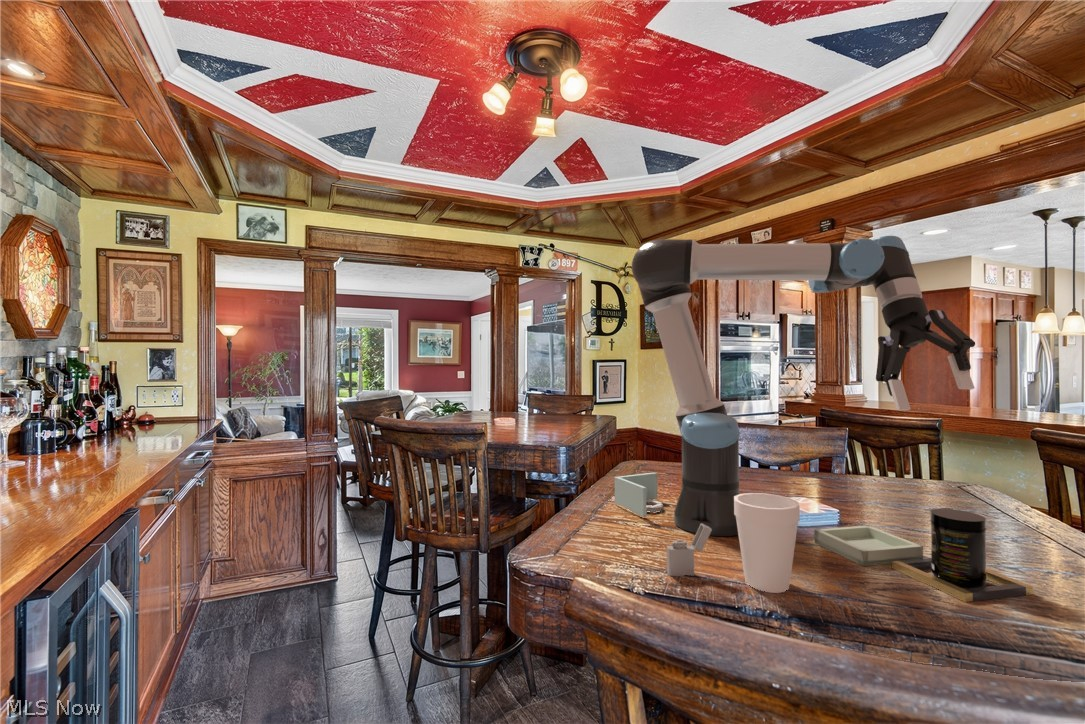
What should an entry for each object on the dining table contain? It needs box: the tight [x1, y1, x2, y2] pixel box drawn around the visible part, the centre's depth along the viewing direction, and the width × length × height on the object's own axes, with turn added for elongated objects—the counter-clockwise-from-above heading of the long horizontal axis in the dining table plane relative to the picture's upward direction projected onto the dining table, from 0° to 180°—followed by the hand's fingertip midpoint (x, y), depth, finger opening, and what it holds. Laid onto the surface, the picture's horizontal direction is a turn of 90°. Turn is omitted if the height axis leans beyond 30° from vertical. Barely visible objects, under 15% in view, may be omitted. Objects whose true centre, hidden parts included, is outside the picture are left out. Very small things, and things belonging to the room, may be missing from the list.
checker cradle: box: [891, 557, 1034, 603], centre depth 78 cm, size 12×12×1 cm
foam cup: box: [734, 492, 801, 594], centre depth 78 cm, size 10×9×13 cm
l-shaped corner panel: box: [614, 472, 664, 518], centre depth 119 cm, size 12×12×8 cm
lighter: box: [666, 523, 712, 577], centre depth 82 cm, size 7×2×8 cm, turn 92°
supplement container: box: [929, 508, 987, 589], centre depth 78 cm, size 7×7×10 cm
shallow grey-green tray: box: [813, 525, 924, 567], centre depth 91 cm, size 12×12×2 cm
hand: (933, 400), depth 97 cm, fingers open, 13 cm apart
